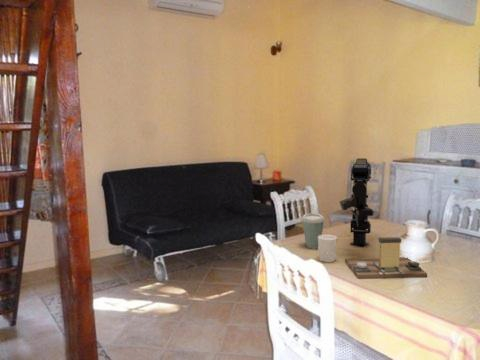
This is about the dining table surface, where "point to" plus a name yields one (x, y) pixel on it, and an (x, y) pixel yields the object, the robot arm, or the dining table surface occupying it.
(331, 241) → the white cup
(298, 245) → the dining table surface
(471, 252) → the dining table surface
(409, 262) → the black rocker switch
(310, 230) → the disposable coffee cup
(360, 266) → the grey push button
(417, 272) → the control panel
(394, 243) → the yellow upright block
